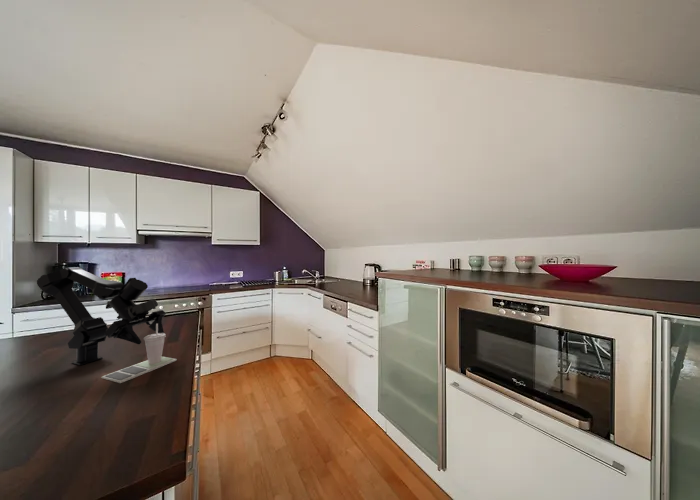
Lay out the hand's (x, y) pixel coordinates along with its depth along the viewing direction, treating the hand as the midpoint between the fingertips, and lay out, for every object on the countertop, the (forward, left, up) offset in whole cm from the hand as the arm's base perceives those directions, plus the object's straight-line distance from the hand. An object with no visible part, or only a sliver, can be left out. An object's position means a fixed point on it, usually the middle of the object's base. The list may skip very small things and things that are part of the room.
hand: (152, 338), depth 90 cm
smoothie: (+1, 0, -9) cm, 9 cm away
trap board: (+1, -4, -9) cm, 10 cm away
